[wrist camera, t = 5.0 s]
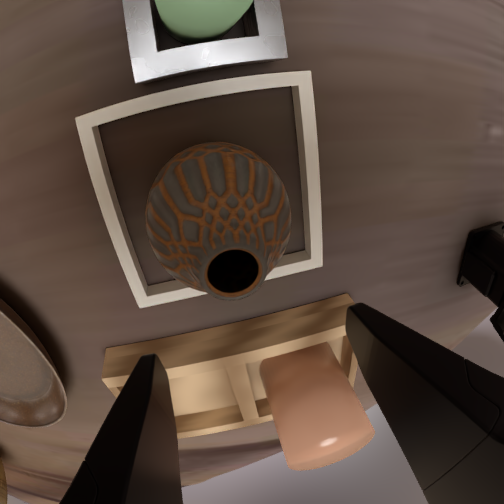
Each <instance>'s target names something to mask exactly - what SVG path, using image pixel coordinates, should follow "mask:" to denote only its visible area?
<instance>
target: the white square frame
mask: <svg viewBox="0 0 504 504" xmlns="http://www.w3.org/2000/svg"><path fill="white" fill-rule="evenodd" d="M286 86H291V88H292V96H293V105H294V114H295V124H296V134H297V144H298V155H299V167H300V179H301V192H302V206H303V221H304V238H305V250H304V251H300V252H295V253H291V254H287V255H283V256H282V258H281V259H280V261H279V262H278V264H277V265H276V267H275V268H274V269H273V270H272V271H271V272H270V273H269V274H268V275H267V276H266V278H265V280H269V279H273V278H277V277H281V276H285V275H289V274H294V273H298V272H302V271H306V270H310V269H314V268H318V267H322V266H323V259H322V215H321V191H320V172H319V156H318V142H317V129H316V117H315V106H314V96H313V86H312V77H311V71H296V72H282V73H271V74H261V75H252V76H244V77H237V78H230V79H223V80H217V81H211V82H206V83H200V84H195V85H190V86H185V87H180V88H176V89H171V90H167V91H163V92H158V93H154V94H150V95H147V96H143V97H139V98H135V99H132V100H128V101H125V102H121V103H118V104H115V105H112V106H108V107H105V108H102V109H99V110H96V111H93V112H90V113H87V114H84V115H82V116H79V117H76V118H75V120H76V125H77V129H78V133H79V137H80V141H81V145H82V148H83V152H84V156H85V159H86V163H87V167H88V170H89V173H90V177H91V180H92V183H93V187H94V190H95V193H96V196H97V199H98V202H99V205H100V208H101V211H102V214H103V217H104V220H105V223H106V226H107V229H108V231H109V234H110V237H111V240H112V242H113V245H114V248H115V250H116V253H117V256H118V258H119V261H120V263H121V266H122V268H123V271H124V273H125V276H126V278H127V280H128V283H129V285H130V287H131V290H132V292H133V294H134V297H135V299H136V301H137V304H138V306H139V308H144V307H149V306H153V305H158V304H163V303H167V302H172V301H177V300H181V299H186V298H190V297H195V296H200V295H204V294H208V293H206V292H201V291H198V290H195V289H192V288H190V287H188V286H186V285H184V284H182V283H180V282H179V281H177V280H173V281H168V282H164V283H159V284H155V285H150V286H148V285H147V282H146V280H145V277H144V274H143V272H142V269H141V266H140V264H139V261H138V258H137V255H136V253H135V250H134V247H133V244H132V241H131V239H130V236H129V233H128V230H127V227H126V224H125V221H124V218H123V215H122V211H121V208H120V205H119V202H118V199H117V195H116V192H115V189H114V185H113V182H112V178H111V175H110V171H109V168H108V164H107V160H106V157H105V153H104V149H103V145H102V141H101V137H100V133H99V129H98V125H100V124H103V123H106V122H110V121H113V120H116V119H119V118H123V117H126V116H130V115H133V114H137V113H141V112H144V111H148V110H152V109H156V108H160V107H164V106H168V105H173V104H177V103H182V102H186V101H191V100H196V99H201V98H207V97H212V96H218V95H224V94H230V93H236V92H243V91H250V90H258V89H267V88H276V87H286ZM265 280H264V281H265Z"/></svg>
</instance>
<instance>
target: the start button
mask: <svg viewBox="0 0 504 504" xmlns="http://www.w3.org/2000/svg"><path fill="white" fill-rule="evenodd" d="M252 2H253V0H155V3H156V6H157V9H158V12H159V15H160V18H161V21H162V24H163V27H164V28H165V30H166V31H167V32H168V34H170V35H171V36H172V37H173V38H175V39H176V40H178V41H181V42H183V43H187V44H200V43H206V42H213V41H216V40H218V39H220V38H221V37H223V36H224V35H225V34H226V33H227V32H228V31H229V30H230V29H231V28H232V27H233V26H234V25H235V23H236V22H237V21H238V20H239V19H240V18H241V16H242V15H243V14H244V13H245V12H246V11H247V9H248V8H249V7H250V5H251V4H252Z"/></svg>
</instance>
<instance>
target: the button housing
mask: <svg viewBox="0 0 504 504" xmlns="http://www.w3.org/2000/svg"><path fill="white" fill-rule="evenodd" d="M122 1H123V9H124V16H125V24H126V31H127V37H128V44H129V50H130V56H131V62H132V68H133V74H134V79H135V83H139V84H146V83H149V82H153V81H158V80H162V79H166V78H170V77H175V76H180V75H184V74H189V73H195V72H200V71H205V70H211V69H217V68H224V67H231V66H238V65H246V64H255V63H265V62H273V61H277V60H281V59H285V58H288V54H287V47H286V40H285V33H284V26H283V20H282V14H281V7H280V1H279V0H253V2H252V4H251V5H250V7H249V8H248V9H247V11H246V12H245V13H244V14H243V15H242V17H243V23H244V30H245V36H246V37H244V38H235V39H227V40H219V41H213V42H206V43H200V44H194V45H189V46H184V47H178V48H174V49H169V50H164V51H160V45H159V38H158V32H157V25H156V19H155V12H154V5H153V0H122Z"/></svg>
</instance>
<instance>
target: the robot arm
mask: <svg viewBox="0 0 504 504" xmlns="http://www.w3.org/2000/svg"><path fill="white" fill-rule="evenodd" d="M503 234H504V222H499V223H496V224H493V225H490V226H487V227H484V228H481V229H477V230H474V231H472V232H471V233H470V234H469V237H468V242H467V246H466V250H465V255H464V259H463V262H462V266H461V270H460V274H459V277H458V281H457V284H458V285H459V286H460V287H461V286H464V285H466V284H468V283H471V284H472V285H473V286H474V287H475V288H476V289H477V290H478V291H479V292H480V293H482V294H483V295H484V296H485V297H488V298H489V299H490V300H491V301H492V302H493V303H494V304H495V305H496V306H497V307H498V309H497V310H496V312H495V314H494V315H492V317H491V318H490V321H491V323H492V324H493V327H494V328H495V330H496V331H497V333H498V334H499V336H500V337H501V339H502V340H503V342H504V237H503ZM345 331H346V335H347V337H348V340H349V342H350V344H351V347H352V349H353V352H354V354H355V357H356V359H357V362H358V364H359V367H360V369H361V372H362V374H363V376H364V379H365V381H366V383H367V385H368V387H369V388H370V390H371V392H372V394H373V396H374V398H375V400H376V401H377V403H378V405H379V407H380V409H381V411H382V413H383V415H384V416H385V418H386V420H387V422H388V424H389V426H390V428H391V430H392V432H393V433H394V435H395V437H396V439H397V441H398V443H399V445H400V447H401V449H402V451H403V453H404V455H405V457H406V459H407V460H408V462H409V465H410V466H411V469H412V471H413V473H414V475H415V477H416V479H417V481H418V483H419V485H420V487H421V489H422V490H423V493H424V495H425V497H426V499H427V501H428V504H504V378H503V377H501V376H499V375H497V374H494V373H492V372H490V371H488V370H486V369H484V368H482V367H480V366H479V365H477V364H475V363H473V362H471V361H469V360H467V359H465V360H464V357H462V356H460V355H458V354H456V353H454V352H453V351H451V350H449V349H447V348H445V347H444V346H442V345H440V344H438V343H436V342H434V341H432V340H431V339H429V338H427V337H425V336H423V335H421V334H420V333H418V332H416V331H414V330H412V329H410V328H409V327H407V326H405V325H403V324H401V323H399V322H397V321H396V320H394V319H392V318H390V317H388V316H386V315H385V314H383V313H381V312H379V311H377V310H375V309H373V308H372V307H370V306H368V305H366V304H364V303H357V304H353V305H350V306H348V308H347V312H346V324H345ZM59 504H183V500H182V490H181V479H180V468H179V455H178V441H177V428H176V422H175V416H174V410H173V404H172V398H171V392H170V385H169V379H168V375H167V372H166V370H165V368H164V366H163V364H162V363H161V361H160V359H159V357H158V355H157V354H155V353H152V354H146V355H142V356H141V357H140V358H139V360H138V362H137V363H136V365H135V367H134V369H133V370H132V372H131V374H130V376H129V377H128V379H127V381H126V383H125V384H124V386H123V388H122V390H121V392H120V393H119V395H118V397H117V399H116V401H115V402H114V404H113V406H112V408H111V410H110V412H109V413H108V415H107V417H106V419H105V421H104V423H103V424H102V426H101V428H100V430H99V432H98V434H97V436H96V438H95V439H94V441H93V443H92V445H91V447H90V449H89V451H88V453H87V455H86V457H85V461H83V462H82V464H81V466H80V468H79V470H78V472H77V474H76V476H75V478H74V479H73V481H72V483H71V485H70V487H69V489H68V490H67V492H66V493H65V495H64V497H63V498H62V500H61V502H60V503H59Z"/></svg>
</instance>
